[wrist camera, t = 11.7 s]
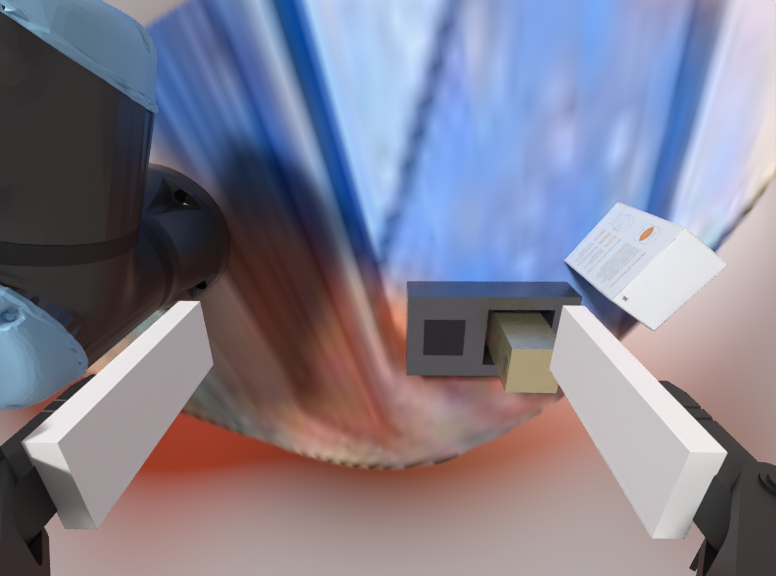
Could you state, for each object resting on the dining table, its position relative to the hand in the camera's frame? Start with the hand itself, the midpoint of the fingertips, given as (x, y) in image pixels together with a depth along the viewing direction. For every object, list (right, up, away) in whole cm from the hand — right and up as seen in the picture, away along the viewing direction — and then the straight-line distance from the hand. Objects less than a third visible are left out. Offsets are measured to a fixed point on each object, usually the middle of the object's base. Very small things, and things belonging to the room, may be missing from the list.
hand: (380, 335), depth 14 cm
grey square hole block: (+11, -2, +32) cm, 34 cm away
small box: (+24, +6, +28) cm, 37 cm away
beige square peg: (+14, -2, +32) cm, 35 cm away
